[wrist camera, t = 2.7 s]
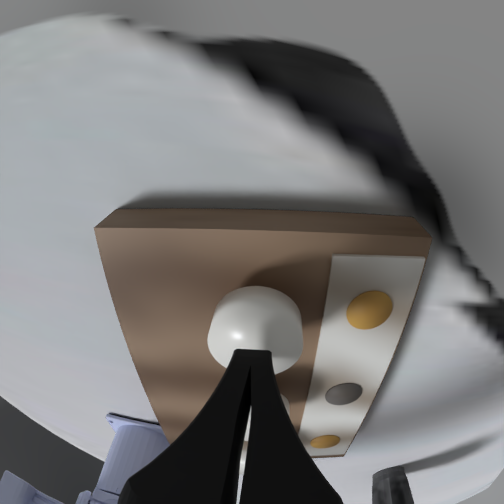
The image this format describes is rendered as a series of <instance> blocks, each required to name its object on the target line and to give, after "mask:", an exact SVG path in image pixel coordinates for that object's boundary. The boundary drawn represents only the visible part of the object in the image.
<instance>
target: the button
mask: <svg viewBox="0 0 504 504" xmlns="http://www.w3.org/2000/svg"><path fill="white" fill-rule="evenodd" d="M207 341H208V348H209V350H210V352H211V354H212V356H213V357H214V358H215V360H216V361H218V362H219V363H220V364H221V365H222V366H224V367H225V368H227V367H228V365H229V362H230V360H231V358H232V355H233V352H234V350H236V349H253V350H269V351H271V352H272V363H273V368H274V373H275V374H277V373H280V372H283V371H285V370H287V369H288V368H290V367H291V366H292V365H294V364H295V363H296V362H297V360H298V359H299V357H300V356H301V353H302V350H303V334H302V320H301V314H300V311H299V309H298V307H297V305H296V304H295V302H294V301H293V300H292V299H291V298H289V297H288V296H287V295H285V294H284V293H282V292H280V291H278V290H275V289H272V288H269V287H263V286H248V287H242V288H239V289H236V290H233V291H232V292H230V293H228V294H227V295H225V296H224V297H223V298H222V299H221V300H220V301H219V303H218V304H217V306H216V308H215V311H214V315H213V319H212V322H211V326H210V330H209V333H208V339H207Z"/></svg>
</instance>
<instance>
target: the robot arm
mask: <svg viewBox="0 0 504 504" xmlns="http://www.w3.org/2000/svg"><path fill="white" fill-rule="evenodd" d="M250 408H251V421H250V429H249V438H248V446H247V454H246V461H245V468H244V475H243V482H242V489H241V495H240V502H239V504H343V502H342V499H341V497H340V496H339V494H338V493H337V492H336V491H335V490H334V489H333V487H332V486H331V485H330V484H329V482H328V481H327V480H326V479H325V477H324V476H323V474H322V473H321V472H320V470H319V469H318V468H317V466H316V464H315V463H314V461H313V460H312V458H311V457H310V455H309V454H308V452H307V450H306V449H305V447H304V445H303V443H302V442H301V440H300V438H299V436H298V434H297V432H296V430H295V428H294V426H293V424H292V422H291V420H290V417H289V415H288V413H287V410H286V408H285V405H284V403H283V400H282V397H281V394H280V391H279V388H278V385H277V381H276V377H275V373H274V368H273V363H272V352H271V351H269V350H253V349H236V350H234V352H233V355H232V358H231V360H230V362H229V365H228V367H227V369H226V371H225V373H224V375H223V376H222V378H221V380H220V382H219V383H218V385H217V387H216V388H215V390H214V392H213V393H212V395H211V396H210V398H209V399H208V401H207V402H206V404H205V405H204V407H203V408H202V409H201V411H200V412H199V413H198V415H197V416H196V417H195V418H194V420H193V421H192V422H191V423H190V424H189V426H188V427H187V428H186V429H185V430H184V431H183V432H182V433H181V434H180V436H179V437H178V438H177V439H176V440H175V441H174V442H173V443H172V444H171V445H170V444H169V442H168V440H167V438H166V436H165V434H164V432H163V430H162V428H161V426H160V425H154V424H149V423H144V422H140V421H135V420H131V419H126V418H122V417H118V416H114V415H110V414H107V415H106V419H107V421H108V422H109V424H110V425H111V427H112V428H113V430H114V431H115V432H116V434H115V437H114V439H113V442H112V445H111V447H110V450H109V453H108V455H107V458H106V461H105V464H104V466H103V469H102V472H101V475H100V477H99V480H98V483H97V486H96V488H95V489H94V492H93V494H92V496H90V495H91V492H90V491H87V490H86V491H85V492H81V493H80V494H79V496H78V499H77V502H76V504H236V501H237V490H238V480H239V470H240V460H241V454H242V448H243V443H244V438H245V433H246V429H247V424H248V418H249V413H250ZM0 504H64V503H62V502H60V501H58V500H56V499H54V498H51V497H50V496H47V495H46V494H44V493H42V492H40V491H38V490H36V489H35V488H34V487H33V486H32V485H30V484H29V483H27V482H25V481H24V480H22V479H20V478H19V477H17V476H16V475H14V474H12V473H10V472H9V471H8V470H6V471H5V472H4V474H3V477H2V479H1V481H0Z"/></svg>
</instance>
